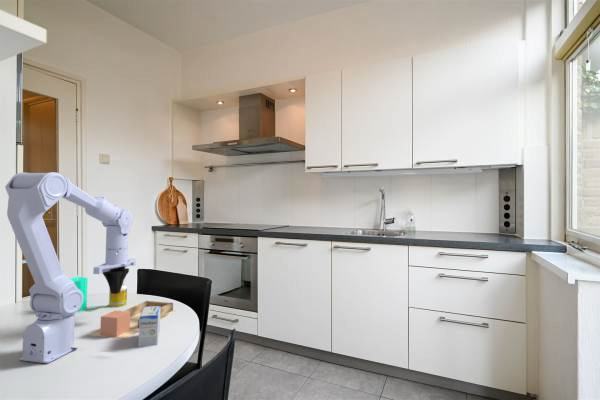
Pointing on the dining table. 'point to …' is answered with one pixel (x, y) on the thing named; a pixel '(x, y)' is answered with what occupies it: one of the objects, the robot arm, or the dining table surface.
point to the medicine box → (149, 326)
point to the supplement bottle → (118, 297)
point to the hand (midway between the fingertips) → (115, 293)
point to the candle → (81, 285)
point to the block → (115, 323)
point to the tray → (135, 316)
